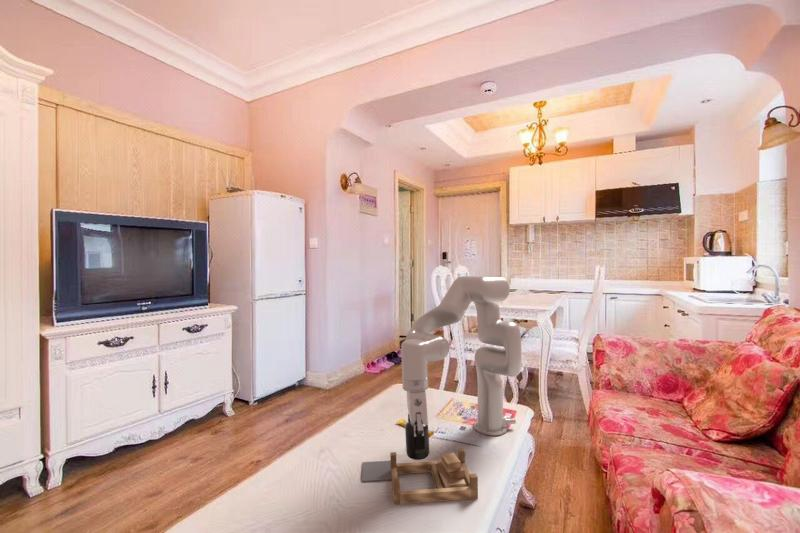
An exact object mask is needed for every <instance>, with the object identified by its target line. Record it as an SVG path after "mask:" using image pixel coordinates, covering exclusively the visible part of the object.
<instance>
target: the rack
mask: <svg viewBox="0 0 800 533" xmlns="http://www.w3.org/2000/svg"><path fill="white" fill-rule="evenodd" d="M389 456H390V458H389V459H390V460H389V461H390V462H391V474H392V480H391V482H392V483H391V485H392V498H393V499H392V500H393V505H401V504H412V503H413V504H415V503H427V502H444V501H460V500H470V499H471V500H477V499H479V491H478V490H479V488H478V485H479V484H478V483H479V482H478V481H479V480H478V479H479V478H478V475H477V473H471V472H470V471H469V469H468V467H467V464H466V450H465V448H463V447H462V448H460V447H459V448H457V458H458V459H459V460H460V461H461V467H462V468H463V469H464V470H465V478H464V481H465V483H466V487H454V488H442V485H441V482H440V479H439V475H438V472H437V462H440V461H441V460H432V461H430V460H429V461H415V462H399V463H398V462H397V461H398V460H397V452H395V451H393V452H391V451H390V455H389ZM421 473H431V476H432V480H433V483H434V488H428V489H413V490H401V480H400V478H399V477H398V475H404V474H405V475H407V474H421Z"/></svg>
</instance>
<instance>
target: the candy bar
mask: <svg viewBox="0 0 800 533" xmlns="http://www.w3.org/2000/svg"><path fill="white" fill-rule="evenodd" d="M407 422H408V420H406V419H405V418H401V419H399V420H398V421H396V424H397V425H400V426H401V427H404V428H405V426H406V424H407ZM428 432H429V438H430V437H431V436H432V435H433V434H434V433H435V430H431V429H428Z"/></svg>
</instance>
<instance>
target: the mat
mask: <svg viewBox="0 0 800 533" xmlns="http://www.w3.org/2000/svg"><path fill="white" fill-rule="evenodd" d="M361 466H362V468H361V469H362V470H361V482H362V483H372V482H388V481H391V482H392V474H391V462H390V460H379V461H362V465H361Z"/></svg>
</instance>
